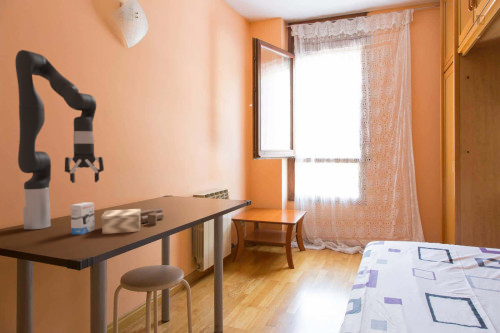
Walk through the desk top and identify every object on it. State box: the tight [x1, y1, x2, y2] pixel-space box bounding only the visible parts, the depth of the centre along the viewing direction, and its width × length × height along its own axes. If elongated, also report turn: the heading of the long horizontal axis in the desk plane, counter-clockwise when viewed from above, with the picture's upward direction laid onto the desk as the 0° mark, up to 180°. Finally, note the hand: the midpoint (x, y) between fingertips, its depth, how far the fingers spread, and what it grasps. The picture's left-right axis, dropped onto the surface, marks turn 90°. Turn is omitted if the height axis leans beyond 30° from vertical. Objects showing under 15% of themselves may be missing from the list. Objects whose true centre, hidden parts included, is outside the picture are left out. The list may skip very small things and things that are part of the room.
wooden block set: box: [140, 207, 164, 226], centre depth 162 cm, size 17×6×18 cm
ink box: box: [70, 201, 96, 236], centre depth 140 cm, size 8×5×12 cm, turn 168°
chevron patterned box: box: [100, 208, 142, 235], centre depth 145 cm, size 15×15×7 cm
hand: (85, 182), depth 140 cm, fingers open, 8 cm apart
